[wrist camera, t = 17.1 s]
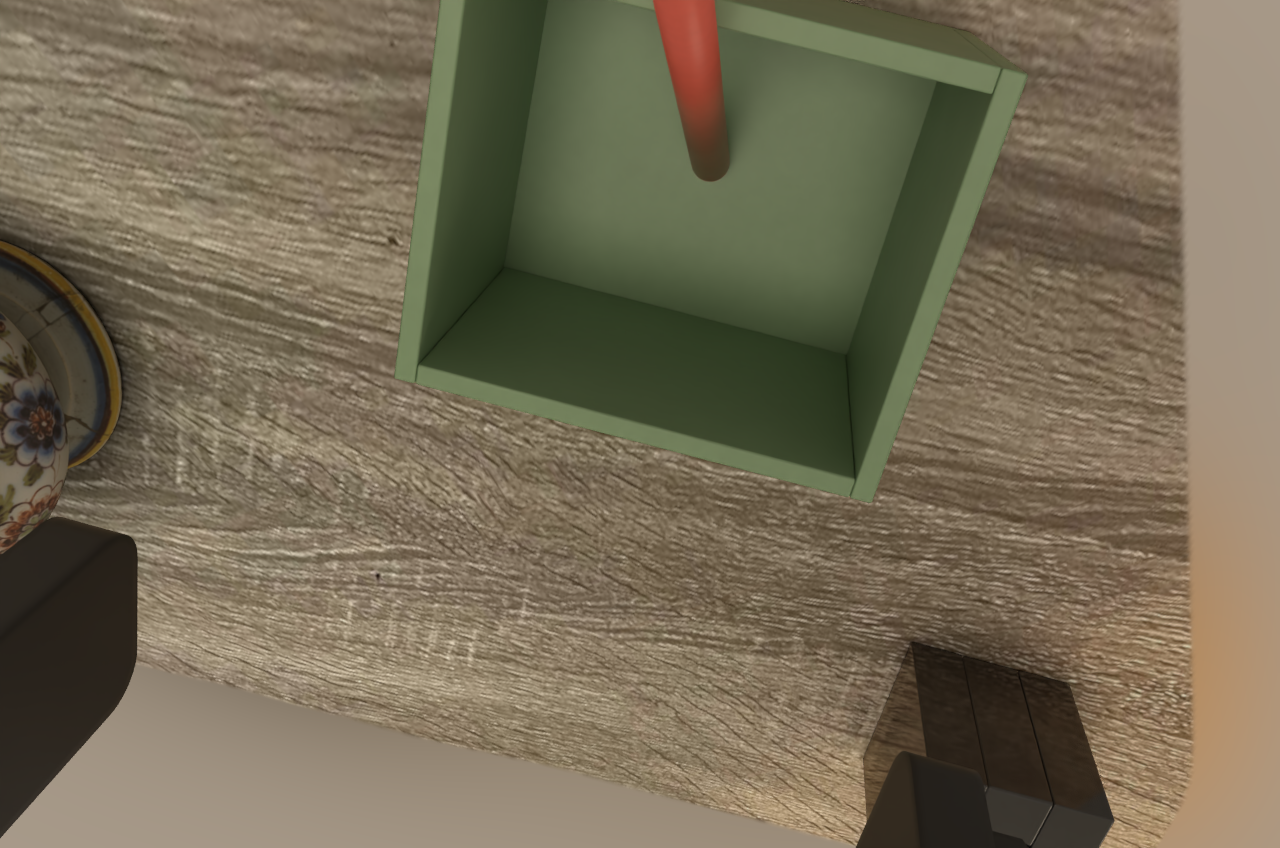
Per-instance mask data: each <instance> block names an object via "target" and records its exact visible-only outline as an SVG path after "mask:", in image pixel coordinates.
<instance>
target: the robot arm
mask: <svg viewBox="0 0 1280 848" xmlns="http://www.w3.org/2000/svg"><path fill="white" fill-rule="evenodd" d="M137 566H138V557H137V548H136V544H135V542H134V540H133V539H132V538H131V537H130V536H128V535H125V534H121V533H117V532H114V531H110V530H106V529H103V528H99V527H96V526H92V525H88V524H85V523H81V522H77V521H74V520H70V519H66V518H63V517H53V518H50V519H48V520H46V521H44V522H43V523H41V524H40V525H39V526H37V527H36V528H35V529H33V530H32V531H31V532H30V533H28V534H27V535H26V536H24V537H23V538H22V539H21V540H19V541H18V542H17V543H15V544H14V545H13V546H12V547H10V548H9V549H8V550H6V551H5V552H4V553H3V554H0V838H1V837H2V836H3V834H4V833H5V832H6V831H7V830H8V829H9V828H10V827H11V826H12V824H13V823H14V822H15V821H16V820H17V819H18V818H19V817H20V815H21V814H22V813H23V812H24V811H25V810H26V809H27V808H28V806H29V805H30V804H31V803H32V802H33V801H34V800H35V799H36V797H37V796H38V795H39V794H40V793H41V792H42V791H43V790H44V789H45V787H46V786H47V785H48V784H49V783H50V782H51V781H52V780H53V778H54V777H55V776H56V775H57V774H58V773H59V772H60V771H61V769H62V768H63V767H64V766H65V765H66V764H67V763H68V762H69V761H70V759H71V758H72V757H73V756H74V755H75V754H76V753H77V751H78V750H79V749H80V748H81V747H82V746H83V745H84V744H85V743H86V741H87V740H88V739H89V738H90V737H91V736H92V735H93V734H94V732H95V731H96V730H97V729H98V728H99V727H100V726H101V725H102V723H103V722H104V721H105V720H106V719H107V718H108V717H109V716H110V714H111V713H112V712H113V711H114V709H115V708H116V707H117V705H118V704H119V702H120V700H121V699H122V697H123V695H124V693H125V691H126V689H127V687H128V685H129V682H130V679H131V677H132V674H133V671H134V667H135V663H136V657H137ZM856 848H1028V847H1027V845H1026V844H1025V842H1024V841H1023V839H1020V838H1017V837H1013V836H1009V835H1006V834H1002V833H999V832H995V831H992V827H991V822H990V817H989V811H988V806H987V801H986V796H985V791H984V786H983V782H982V778H981V776H980V774H979V773H978V772H977V771H975V770H972V769H969V768H965V767H961V766H958V765H954V764H950V763H947V762H943V761H939V760H936V759H932V758H929V757H925V756H921V755H918V754H914V753H910V752H907V751H902V752H900V753H899V754H898V755H897V757H896V758H895V760H894V761H893V764H892V766H891V768H890V770H889V772H888V775H887V777H886V779H885V782H884V784H883V786H882V789H881V791H880V793H879V795H878V798H877V800H876V802H875V805H874V807H873V809H872V812H871V814H870V816H869V818H868V821H867V823H866V825H865V828H864V830H863V832H862V835H861V837H860V839H859V842H858V844H857V846H856Z"/></svg>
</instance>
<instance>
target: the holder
mask: <svg viewBox="0 0 1280 848" xmlns="http://www.w3.org/2000/svg"><path fill="white" fill-rule="evenodd" d="M902 751H907V752H910V753H914V754H918V755H921V756H925V757H929V758H932V759H936V760H939V761H943V762H947V763H950V764H954V765H958V766H961V767H965V768H969V769H972V770H975V771H977V772H978V773H979V774H980V776H981V778H982V782H983V786H984V791H985V796H986V801H987V806H988V811H989V817H990V822H991V827H992V831H995V832H999V833H1002V834H1006V835H1009V836H1013V837H1017V838H1020V839H1023V841H1024V842H1025V844H1026V845H1027V847H1028V848H1099V847H1100V845H1101V844H1102V842H1103V840H1104V838H1105V837H1106V835H1107V833H1108V832H1109V830H1110V828H1111V826H1112V825H1113V823H1114V818H1113V815H1112V812H1111V809H1110V806H1109V803H1108V800H1107V797H1106V794H1105V791H1104V788H1103V785H1102V782H1101V779H1100V776H1099V773H1098V770H1097V767H1096V764H1095V761H1094V758H1093V755H1092V752H1091V749H1090V746H1089V743H1088V740H1087V737H1086V734H1085V731H1084V728H1083V725H1082V722H1081V719H1080V716H1079V713H1078V710H1077V707H1076V704H1075V701H1074V698H1073V695H1072V692H1071V689H1070V686H1069V684H1067V683H1064V682H1060V681H1056V680H1052V679H1049V678H1045V677H1041V676H1038V675H1034V674H1030V673H1026V672H1023V671H1018V672H1017V671H1016V670H1013V669H1009V668H1006V667H1002V666H998V665H994V664H991V663H987V662H983V661H979V660H976V659H972V658H968V657H962V656H961V655H959V654H955V653H951V652H947V651H944V650H940V649H936V648H932V647H929V646H925V645H921V644H917V643H914V642H912V643H911V645H910V647H909V650H908V652H907V654H906V657H905V659H904V662H903V664H902V666H901V669H900V671H899V674H898V676H897V678H896V681H895V683H894V686H893V688H892V690H891V693H890V695H889V698H888V700H887V702H886V705H885V707H884V710H883V712H882V715H881V717H880V719H879V722H878V724H877V727H876V729H875V731H874V734H873V736H872V739H871V741H870V743H869V746H868V748H867V751H866V753H865V755H864V758H863V765H864V782H865V799H866V816H867V821H868V818H869V816H870V814H871V812H872V809H873V807H874V805H875V802H876V800H877V798H878V795H879V793H880V791H881V789H882V786H883V784H884V782H885V779H886V777H887V775H888V772H889V770H890V768H891V766H892V764H893V761H894V760H895V758H896V757H897V755H898V754H899V753H900V752H902Z"/></svg>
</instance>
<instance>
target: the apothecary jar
mask: <svg viewBox="0 0 1280 848" xmlns="http://www.w3.org/2000/svg"><path fill="white" fill-rule="evenodd" d="M121 403H122V381H121V374H120V368H119V364H118V360H117V356H116V353H115V350H114V348H113V345H112V342H111V340H110V338H109V335H108V333H107V331H106V330H105V328H104V326H103V324H102V322H101V320H100V319H99V317H98V316H97V314H96V313H95V311H94V310H93V308H92V307H91V305H90V304H89V303H88V302H87V300H86V299H85V298H84V296H83V295H82V294H81V293H80V292H79V291H78V290H77V289H76V288H75V287H74V286H73V285H72V284H71V283H70V282H69V281H68V280H67V279H66V278H65V277H64V276H62V275H61V274H60V273H59V272H58V271H57V270H55V269H54V268H53V267H52V266H50V265H49V264H48V263H46V262H44V261H43V260H41V259H40V258H38V257H36V256H34V255H33V254H31V253H29V252H27V251H25V250H24V249H21V248H18V247H16V246H14V245H11V244H9V243H6V242H3V241H0V554H3V553H4V552H5V551H6V550H8V549H9V548H10V547H12V546H13V545H14V544H15V543H17V542H18V541H19V540H21V539H22V538H23V537H24V536H26V535H27V534H28V533H30V532H31V531H32V530H33V529H35V528H36V527H37V526H39V525H40V524H41V523H43V522H44V521H46V520H47V519H48V518H49V516H50V515H51V513H52V511H53V509H54V508H55V506H56V504H57V502H58V499H59V497H60V495H61V492H62V489H63V486H64V483H65V479H66V474H67V469H68V468H71V467H74V466H76V465H78V464H80V463H82V462H84V461H85V460H87V459H89V458H90V457H92V456H93V455H94V454H95V453H97V452H98V451H99V450H100V449H101V448H102V447H103V446H104V444H105V443H106V442H107V440H108V439H109V437H110V435H111V434H112V433H113V431H114V428H115V426H116V424H117V421H118V418H119V414H120V409H121Z"/></svg>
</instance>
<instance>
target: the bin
mask: <svg viewBox="0 0 1280 848" xmlns="http://www.w3.org/2000/svg"><path fill="white" fill-rule="evenodd" d="M714 1H715V11H716V21H717V32H718V42H719V53H720V63H721V74H722V84H723V95H724V105H725V116H726V126H727V137H728V147H729V158H730V165H729V169H728V171H727V173H726V174H725V175H724V176H723V177H722V178H721V179H719V180H717V181H713V182H707V181H704V180H701V179H700V178H698V177H697V176H696V174H695V173H694V171H693V169H692V165H691V161H690V157H689V153H688V148H687V144H686V140H685V136H684V131H683V127H682V123H681V119H680V114H679V110H678V106H677V102H676V97H675V93H674V89H673V85H672V80H671V76H670V72H669V67H668V63H667V59H666V55H665V50H664V46H663V42H662V38H661V33H660V29H659V25H658V21H657V16H656V12H655V8H654V4H653V0H440V6H439V14H438V22H437V30H436V38H435V46H434V55H433V63H432V71H431V79H430V87H429V96H428V104H427V112H426V120H425V128H424V137H423V145H422V153H421V161H420V169H419V178H418V186H417V194H416V202H415V210H414V219H413V227H412V235H411V243H410V251H409V260H408V268H407V276H406V284H405V292H404V301H403V309H402V317H401V325H400V333H399V342H398V350H397V358H396V366H395V374H394V377H395V378H396V379H399V380H403V381H407V382H411V383H415V382H416V384H418V385H422V386H426V387H430V388H434V389H437V390H441V391H445V392H449V393H453V394H457V395H460V396H464V397H468V398H472V399H476V400H479V401H483V402H487V403H491V404H495V405H498V406H502V407H506V408H510V409H514V410H518V411H521V412H525V413H529V414H533V415H537V416H540V417H544V418H548V419H552V420H556V421H559V422H563V423H567V424H571V425H575V426H578V427H582V428H586V429H590V430H594V431H598V432H601V433H605V434H609V435H613V436H617V437H620V438H624V439H628V440H632V441H636V442H639V443H643V444H647V445H651V446H655V447H659V448H662V449H666V450H670V451H674V452H678V453H681V454H685V455H689V456H693V457H697V458H700V459H704V460H708V461H712V462H716V463H720V464H723V465H727V466H731V467H735V468H739V469H742V470H746V471H750V472H754V473H758V474H761V475H765V476H769V477H773V478H777V479H780V480H784V481H788V482H792V483H796V484H800V485H803V486H807V487H811V488H815V489H819V490H822V491H826V492H830V493H834V494H838V495H841V496H845V497H849V496H850V497H851V498H852V499H856V500H860V501H864V502H868V503H871V502H872V501H873V498H874V495H875V492H876V490H877V487H878V484H879V481H880V479H881V476H882V473H883V471H884V468H885V465H886V462H887V460H888V457H889V454H890V451H891V449H892V446H893V443H894V441H895V438H896V435H897V432H898V430H899V427H900V424H901V421H902V419H903V416H904V413H905V411H906V408H907V405H908V402H909V400H910V397H911V394H912V391H913V389H914V386H915V383H916V381H917V378H918V375H919V372H920V370H921V367H922V364H923V361H924V359H925V356H926V353H927V351H928V348H929V345H930V342H931V340H932V337H933V334H934V331H935V329H936V326H937V323H938V321H939V318H940V315H941V312H942V310H943V307H944V304H945V301H946V299H947V296H948V293H949V291H950V288H951V285H952V282H953V280H954V277H955V274H956V271H957V269H958V266H959V263H960V261H961V258H962V255H963V252H964V250H965V247H966V244H967V241H968V239H969V236H970V233H971V231H972V228H973V225H974V222H975V220H976V217H977V214H978V211H979V209H980V206H981V203H982V201H983V198H984V195H985V192H986V190H987V187H988V184H989V181H990V179H991V176H992V173H993V171H994V168H995V165H996V162H997V160H998V157H999V154H1000V151H1001V149H1002V146H1003V143H1004V141H1005V138H1006V135H1007V132H1008V130H1009V127H1010V124H1011V121H1012V119H1013V116H1014V113H1015V111H1016V108H1017V105H1018V102H1019V100H1020V97H1021V94H1022V91H1023V89H1024V86H1025V83H1026V81H1027V78H1028V74H1027V73H1025V72H1024V71H1022V70H1021V69H1020V68H1018V67H1017V66H1016V65H1014V64H1013V63H1011V62H1010V61H1009V60H1007V59H1006V58H1005V57H1003V56H1002V55H1000V54H999V53H998V52H996V51H995V50H994V49H992V48H991V47H989V46H988V45H987V44H985V43H984V42H983V41H981V40H980V39H978V38H977V37H976V36H974V35H973V34H971V33H970V32H968V31H964V30H959V29H955V28H951V27H947V26H943V25H939V24H935V23H931V22H927V21H923V20H919V19H915V18H910V17H906V16H902V15H898V14H894V13H890V12H886V11H882V10H878V9H874V8H870V7H866V6H861V5H857V4H853V3H849V2H845V1H841V0H714Z"/></svg>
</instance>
